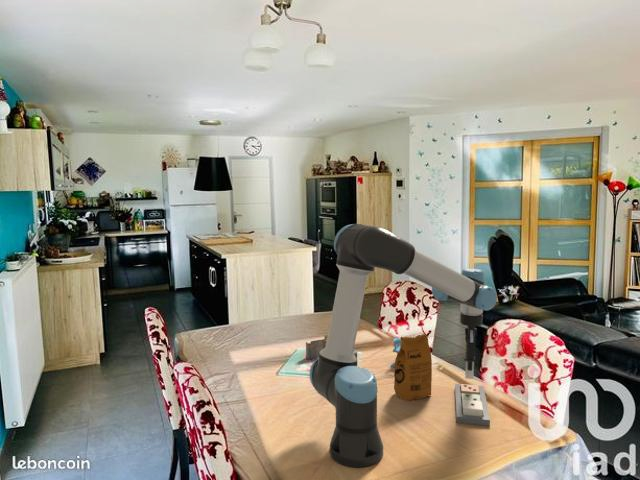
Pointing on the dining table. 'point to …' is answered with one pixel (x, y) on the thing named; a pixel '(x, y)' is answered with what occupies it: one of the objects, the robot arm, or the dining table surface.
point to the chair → (396, 347)
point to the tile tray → (466, 418)
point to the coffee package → (413, 368)
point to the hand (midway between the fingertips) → (469, 377)
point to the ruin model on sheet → (315, 348)
